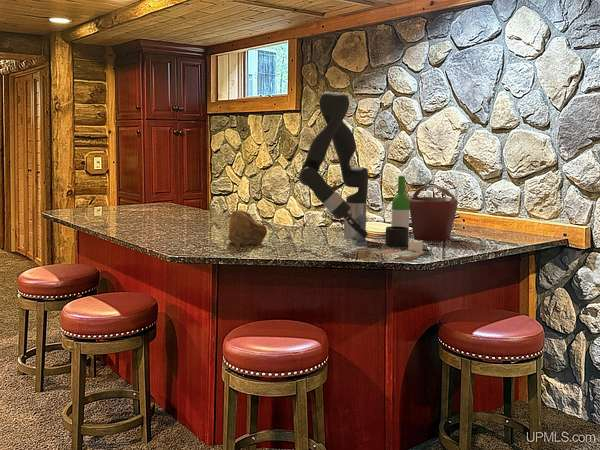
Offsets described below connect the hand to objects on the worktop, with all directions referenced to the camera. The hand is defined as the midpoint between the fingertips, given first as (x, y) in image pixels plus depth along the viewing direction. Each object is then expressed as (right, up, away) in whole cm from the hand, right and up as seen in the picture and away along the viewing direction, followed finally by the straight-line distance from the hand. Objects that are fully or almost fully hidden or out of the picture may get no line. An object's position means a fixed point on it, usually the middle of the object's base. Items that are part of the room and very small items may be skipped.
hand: (365, 235), depth 267 cm
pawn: (-2, -4, +1) cm, 4 cm away
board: (+6, -8, -4) cm, 11 cm away
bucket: (+34, -2, +40) cm, 53 cm away
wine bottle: (+17, -4, +24) cm, 30 cm away
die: (+20, -7, +1) cm, 22 cm away
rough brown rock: (-50, -4, +19) cm, 53 cm away
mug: (+14, -6, +12) cm, 19 cm away
